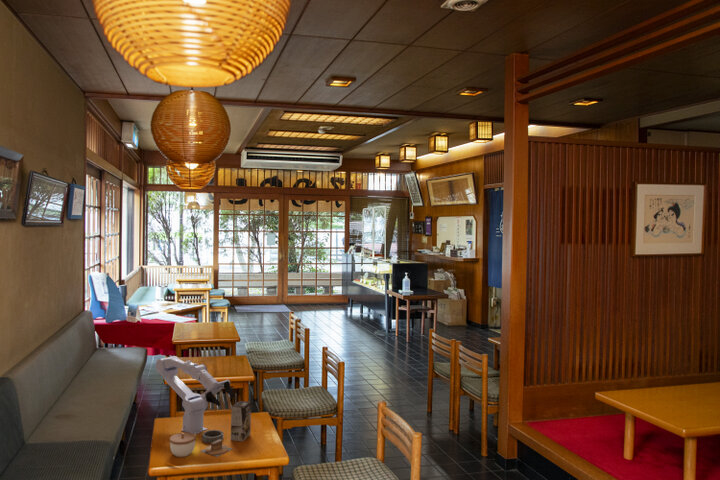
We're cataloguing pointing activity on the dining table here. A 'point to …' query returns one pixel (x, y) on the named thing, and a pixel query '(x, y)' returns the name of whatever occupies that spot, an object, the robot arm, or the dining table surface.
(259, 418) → the dining table surface
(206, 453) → the mat
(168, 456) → the dining table surface
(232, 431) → the coffee box
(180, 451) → the lidded jar
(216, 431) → the bowl
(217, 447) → the lid
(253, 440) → the dining table surface
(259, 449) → the dining table surface
